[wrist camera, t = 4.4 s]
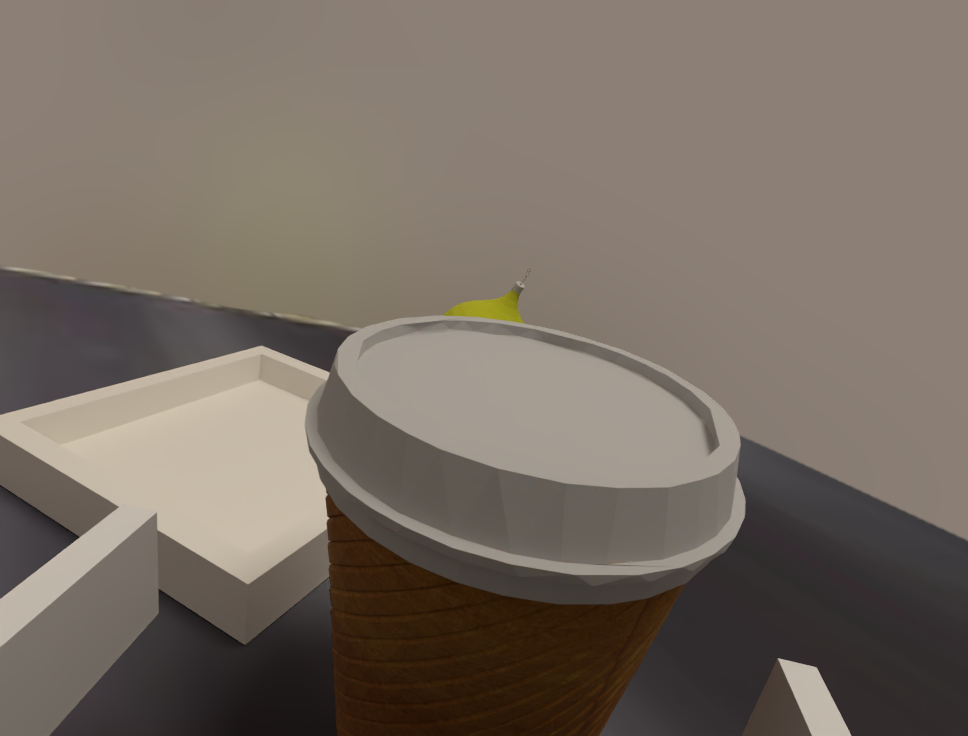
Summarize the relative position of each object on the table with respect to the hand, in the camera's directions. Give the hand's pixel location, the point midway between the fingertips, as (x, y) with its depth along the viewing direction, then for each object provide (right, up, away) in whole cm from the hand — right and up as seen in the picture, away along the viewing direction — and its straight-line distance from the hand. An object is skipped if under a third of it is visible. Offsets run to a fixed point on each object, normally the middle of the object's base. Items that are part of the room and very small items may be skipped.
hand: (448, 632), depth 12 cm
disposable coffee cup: (0, -6, +5) cm, 8 cm away
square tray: (-10, +1, +16) cm, 19 cm away
